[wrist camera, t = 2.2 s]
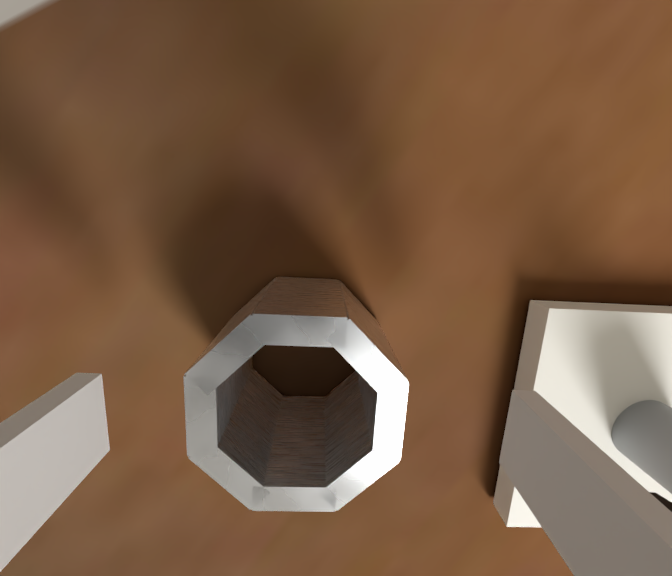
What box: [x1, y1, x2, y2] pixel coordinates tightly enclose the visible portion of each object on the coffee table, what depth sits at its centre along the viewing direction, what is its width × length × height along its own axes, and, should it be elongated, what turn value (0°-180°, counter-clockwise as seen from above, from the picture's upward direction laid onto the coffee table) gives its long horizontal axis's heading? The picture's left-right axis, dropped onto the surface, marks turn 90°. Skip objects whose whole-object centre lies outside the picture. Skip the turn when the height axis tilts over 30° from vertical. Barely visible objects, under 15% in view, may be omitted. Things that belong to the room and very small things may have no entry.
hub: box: [184, 277, 409, 512], centre depth 14 cm, size 7×7×6 cm
